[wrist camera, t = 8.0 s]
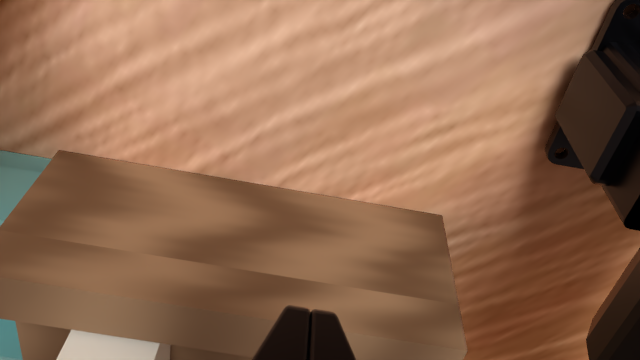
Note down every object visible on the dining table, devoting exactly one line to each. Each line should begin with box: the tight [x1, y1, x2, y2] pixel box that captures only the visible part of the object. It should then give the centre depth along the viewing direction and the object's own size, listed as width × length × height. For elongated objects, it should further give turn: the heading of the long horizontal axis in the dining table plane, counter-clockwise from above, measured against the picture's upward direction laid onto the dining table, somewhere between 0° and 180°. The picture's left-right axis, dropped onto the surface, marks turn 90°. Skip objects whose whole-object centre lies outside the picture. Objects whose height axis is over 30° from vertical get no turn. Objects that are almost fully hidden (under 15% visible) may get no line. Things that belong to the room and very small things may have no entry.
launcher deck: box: [0, 150, 467, 360], centre depth 24 cm, size 16×10×7 cm, turn 80°
